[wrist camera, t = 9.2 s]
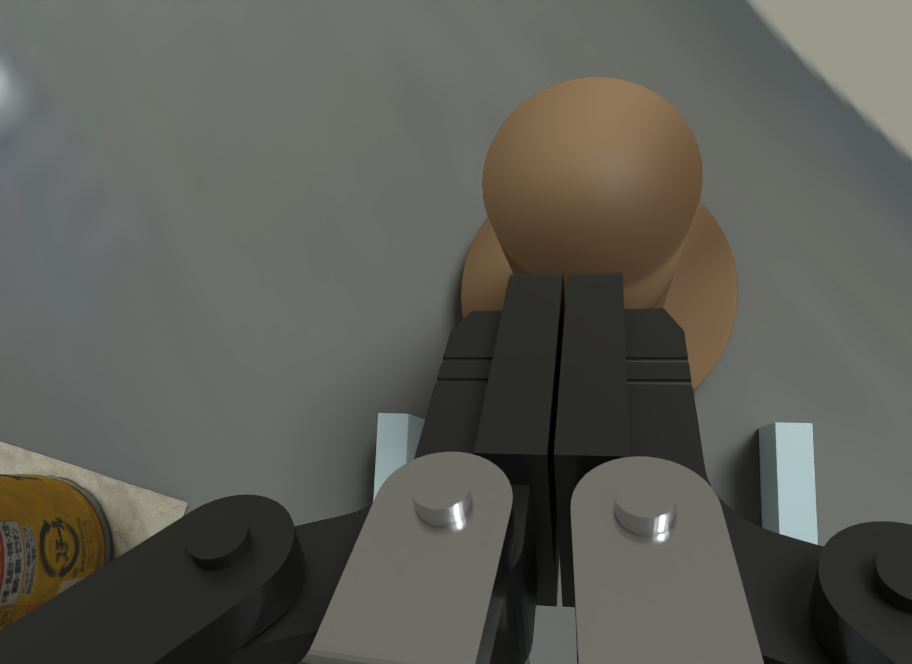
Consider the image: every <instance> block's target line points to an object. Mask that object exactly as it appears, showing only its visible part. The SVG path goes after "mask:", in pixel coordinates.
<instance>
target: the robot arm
mask: <svg viewBox="0 0 912 664" xmlns="http://www.w3.org/2000/svg"><path fill="white" fill-rule="evenodd" d="M559 558H560V570H561V587H562V604H563V606H564V607H575V616H576V639H577V664H912V525H909V524H905V523H897V522H868V523H861V524H857V525H854V526H850V527H848V528H846V529H844V530H842V531H840V532H838V533H837V534H835V535H834V536H833V537H832V538H830V539H829V541H828V542H827V543H826V545H825V546H824V547H823V546H820V545H816V544H813V543H809V542H806V541H803V540H799V539H796V538H792V537H789V536H785V535H782V534H779V533H776V532H773V531H770V530H767V529H764V528H762V527H760V526H758V525H756V524H753V523H751V522H750V521H748V520H746V519H745V518H743V517H741V516H740V515H738V514H737V513H736V512H734V511H733V510H732V509H730V508H729V507H728V506H727V505H726V504H725V503H724V502H723V501H722V500H721V499H720V498H719V497H718V495H717V494H716V493H715V491H714V490H713V489H712V487H711V485H710V483H709V481H708V479H707V475H706V471H705V466H704V459H703V452H702V446H701V439H700V433H699V426H698V419H697V413H696V406H695V399H694V393H693V386H692V384H691V373H690V366H689V363H688V353H687V346H686V340H685V333H684V330H683V329H682V328H681V327H680V326H679V325H678V323H677V322H676V321H675V320H674V319H673V318H672V317H671V316H670V315H669V313H668V312H667V311H666V310H665V309H664V308H661V309H624V293H623V272H596V273H568V277H567V290H566V296H565V279H564V274H563V273H556V274H511V275H510V276H509V279H508V284H507V289H506V294H505V299H504V304H503V309H502V310H501V311H471V312H470V313H469V314H468V315H467V316H466V317H465V318H464V319H463V320H462V321H461V322H460V323H459V324H458V325H457V326H456V327H455V328H454V329H453V330H452V331H451V333H450V336H449V339H448V343H447V346H446V350H445V353H444V357H443V362H442V364H441V367H440V371H439V374H438V377H437V383H436V384H435V388H434V391H433V395H432V398H431V402H430V405H429V408H428V412H427V415H426V419H425V422H424V426H423V429H422V433H421V436H420V439H419V443H418V446H417V450H416V453H415V457H414V460H412V461H410V462H408V463H406V464H404V465H403V466H401V467H400V468H398V469H397V470H395V471H394V472H393V473H392V474H391V475H390V476H389V477H388V478H387V479H386V480H385V481H384V483H383V484H382V485H381V487H380V489H379V491H378V493H377V495H376V497H375V499H374V502H373V504H372V505H371V506H369V507H367V508H365V509H362V510H360V511H357V512H354V513H351V514H347V515H343V516H339V517H335V518H330V519H326V520H321V521H317V522H312V523H308V524H303V525H299V526H294V523H293V521H292V519H291V516H290V514H289V513H288V512H287V510H286V509H285V508H284V507H283V506H282V505H280V504H279V503H278V502H276V501H274V500H272V499H269V498H266V497H262V496H258V495H235V496H230V497H224V498H221V499H218V500H214V501H212V502H209V503H207V504H205V505H202V506H200V507H198V508H197V509H195V510H193V511H191V512H189V513H188V514H186V515H185V516H183V517H181V518H180V519H178V520H177V521H175V522H173V523H172V524H170V525H169V526H167V527H165V528H164V529H162V530H161V531H159V532H157V533H156V534H154V535H153V536H151V537H149V538H148V539H146V540H145V541H143V542H141V543H140V544H138V545H137V546H135V547H133V548H132V549H130V550H129V551H127V552H125V553H124V554H122V555H121V556H119V557H117V558H116V559H114V560H113V561H111V562H109V563H108V564H106V565H105V566H103V567H101V568H100V569H98V570H97V571H95V572H93V573H92V574H90V575H89V576H87V577H85V578H84V579H82V580H81V581H79V582H77V583H76V584H74V585H73V586H71V587H69V588H68V589H66V590H65V591H63V592H61V593H60V594H58V595H57V596H55V597H53V598H52V599H50V600H49V601H47V602H45V603H44V604H42V605H41V606H39V607H37V608H36V609H34V610H33V611H31V612H29V613H28V614H26V615H25V616H23V617H21V618H20V619H18V620H17V621H15V622H13V623H12V624H10V625H9V626H7V627H5V628H4V629H2V630H1V631H0V664H530V660H529V654H530V651H531V647H532V642H533V632H534V620H535V608H536V605H542V606H557V592H558V575H559Z"/></svg>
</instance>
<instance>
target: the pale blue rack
mask: <svg viewBox="0 0 912 664" xmlns="http://www.w3.org/2000/svg"><path fill="white" fill-rule="evenodd" d="M424 422H425V419H422V418H420V417H417V416H414V415H411V414H397V413H378V428H377V445H376V463H375V481H374V498H373V502H374V499H375V497H376V495H377V493H378V491H379V489H380V487H381V485H382V484H383V483H384V481H385V480H386V479H387V478H388V477H389V476H390V475H391V474H392V473H393V472H394V471H395V470H397V469H398V468H400V467H401V466H403V465H404V464H406V463H408V462H410V461H412V460H414V457H415V453H416V450H417V446H418V443H419V439H420V436H421V433H422V429H423V426H424ZM759 452H760V482H761V511H762V528H764V529H767V530H770V531H773V532H776V533H779V534H782V535H785V536H789V537H792V538H796V539H799V540H803V541H806V542H809V543H813V544H816V545H818V538H817V517H816V495H815V474H814V452H813V430H812V423H773V424H770V425H767V426H764V427H761V428H759Z"/></svg>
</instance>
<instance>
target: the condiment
mask: <svg viewBox="0 0 912 664" xmlns="http://www.w3.org/2000/svg"><path fill="white" fill-rule="evenodd" d="M186 506H187V502H184V501H181V500H178V499H174V498H171V497H168V496H165V495H162V494H159V493H156V492H153V491H150V490H146V489H143V488H140V487H137V486H134V485H131V484H128V483H125V482H122V481H119V480H116V479H113V478H110V477H107V476H104V475H101V474H98V473H95V472H92V471H90V470H87V469H84V468H81V467H78V466H75V465H71V464H68V463H65V462H62V461H59V460H56V459H53V458H50V457H47V456H44V455H41V454H38V453H35V452H31V451H28V450H25V449H23V448H19V447H16V446H13V445H10V444H6V443H3V442H0V631H1V630H2V629H4V628H5V627H7V626H9V625H10V624H12V623H13V622H15V621H17V620H18V619H20V618H21V617H23V616H25V615H26V614H28V613H29V612H31V611H33V610H34V609H36V608H37V607H39V606H41V605H42V604H44V603H45V602H47V601H49V600H50V599H52V598H53V597H55V596H57V595H58V594H60V593H61V592H63V591H65V590H66V589H68V588H69V587H71V586H73V585H74V584H76V583H77V582H79V581H81V580H82V579H84V578H85V577H87V576H89V575H90V574H92V573H93V572H95V571H97V570H98V569H100V568H101V567H103V566H105V565H106V564H108V563H109V562H111V561H113V560H114V559H116V558H117V557H119V556H121V555H122V554H124V553H125V552H127V551H129V550H130V549H132V548H133V547H135V546H137V545H138V544H140V543H141V542H143V541H145V540H146V539H148V538H149V537H151V536H153V535H154V534H156V533H157V532H159V531H161V530H162V529H164V528H165V527H167V526H169V525H170V524H172V523H173V522H175V521H177V520H178V519H180V518H181V517H183V515H184V512H185V509H186ZM117 532H118V533H119V534H120V537H121V538H120V540H117V539H116V536H115V535H116V533H117ZM122 541H123V542H124V543H125V544H126V546H127V548H126V551H124V550H123V549H122V547H121V542H122Z"/></svg>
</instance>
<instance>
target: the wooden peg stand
mask: <svg viewBox="0 0 912 664" xmlns="http://www.w3.org/2000/svg"><path fill="white" fill-rule="evenodd" d="M482 187H483V199H484V204H485V208H486V212H487V215H488V217H487V219H486V220H485V222H484V223H483V225H482V226H481V228H480V229H479V231H478V233H477V235H476V237H475V239H474V241H473V243H472V245H471V247H470V250H469V253H468V256H467V259H466V262H465V267H464V272H463V277H462V288H461V302H462V314H463V319H464V318H465V317H466V316H467V315H468V314H469V313H470V312H471V311H501V310H502V309H503V304H504V299H505V294H506V289H507V284H508V279H509V276H510V275H511V274H556V273H563V274H564V279H565V296H566V290H567V277H568V273H596V272H623V293H624V309H661V308H664V309H665V310H666V311H667V312H668V313H669V315H670V316H671V317H672V318H673V319H674V320H675V321H676V322H677V323H678V325H679V326H680V327H681V328H682V329H683V330H684V333H685V340H686V346H687V353H688V363H689V366H690V373H691V384H692V386H693V390H694V389H695V388H696V387H697V386H698V385H699V384H700V383H701V382H702V381H703V380H704V379H705V377H706V376H707V375H708V374H709V373H710V372H711V370H712V369H713V368H714V366H715V364H716V363H717V361H718V360H719V358H720V357H721V355H722V353H723V351H724V349H725V347H726V345H727V342H728V340H729V338H730V335H731V332H732V328H733V325H734V322H735V316H736V310H737V303H738V283H737V275H736V267H735V264H734V260H733V256H732V253H731V249H730V247H729V245H728V242H727V240H726V238H725V236H724V233H723V232H722V230H721V228H720V227H719V225H718V224H717V222H716V220H715V219H714V217H713V216H712V215H711V214H710V212H709V211H708V210H707V209H706V208H705V206H704V205H703V204H702V203H701V202H700V201H699V199H700V195H701V188H702V163H701V156H700V152H699V149H698V145H697V142H696V140H695V138H694V135H693V133H692V131H691V129H690V128H689V126H688V125H687V123H686V121H685V120H684V119H683V117H682V116H681V115H680V114H679V113H678V111H677V110H676V109H675V108H674V107H673V106H672V105H670V104H669V103H668V102H667V101H666V100H665V99H663V98H662V97H660V96H659V95H657V94H656V93H654V92H653V91H651V90H649V89H647V88H645V87H643V86H640V85H637V84H635V83H632V82H629V81H625V80H620V79H615V78H605V77H587V78H580V79H573V80H569V81H566V82H562V83H559V84H556V85H554V86H551V87H549V88H546V89H544V90H543V91H541V92H539V93H537V94H535V95H534V96H532V97H531V98H529V99H528V100H526V101H525V102H524V103H522V104H521V105H520V106H519V107H518V108H517V109H516V110H515V111H513V112H512V114H511V115H510V116H509V117H508V118H507V119H506V120H505V122H504V123H503V124H502V126H501V127H500V129H499V130H498V132H497V133H496V135H495V137H494V139H493V141H492V143H491V145H490V148H489V151H488V154H487V156H486V160H485V165H484V170H483V181H482Z"/></svg>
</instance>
